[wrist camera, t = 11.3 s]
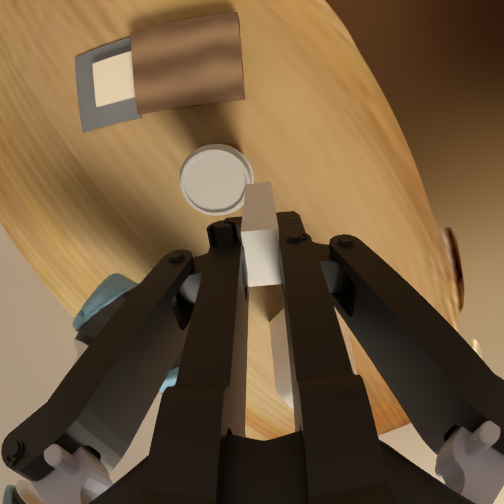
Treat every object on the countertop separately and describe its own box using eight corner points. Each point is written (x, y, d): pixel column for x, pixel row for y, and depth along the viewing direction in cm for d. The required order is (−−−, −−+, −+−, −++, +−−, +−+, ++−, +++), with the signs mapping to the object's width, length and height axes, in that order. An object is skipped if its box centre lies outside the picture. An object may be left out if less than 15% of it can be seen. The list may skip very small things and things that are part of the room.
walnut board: (245, 99, 39) (244, 99, 35) (146, 113, 40) (137, 115, 36) (239, 19, 32) (237, 12, 28) (140, 37, 32) (130, 33, 29)
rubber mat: (141, 117, 40) (140, 117, 39) (84, 132, 40) (83, 132, 40) (134, 36, 32) (133, 35, 32) (76, 57, 33) (75, 57, 32)
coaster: (143, 95, 38) (138, 95, 36) (101, 106, 38) (96, 107, 36) (139, 51, 34) (135, 49, 32) (98, 64, 34) (92, 63, 32)
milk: (307, 340, 65) (321, 439, 42) (269, 322, 62) (272, 429, 39) (343, 309, 60) (373, 412, 37) (304, 287, 56) (325, 400, 34)
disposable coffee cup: (264, 174, 45) (267, 199, 35) (213, 199, 47) (201, 230, 37) (237, 123, 41) (230, 131, 30) (185, 151, 43) (162, 169, 33)
